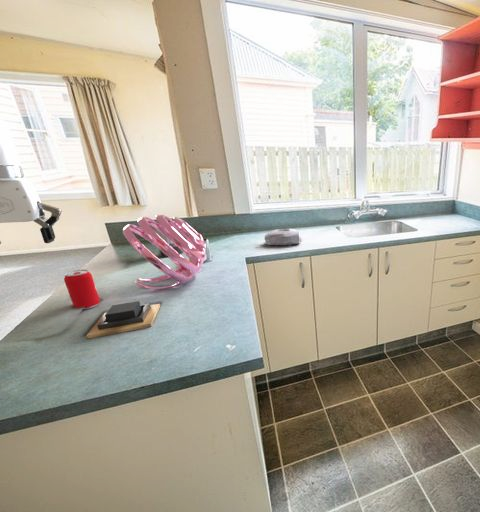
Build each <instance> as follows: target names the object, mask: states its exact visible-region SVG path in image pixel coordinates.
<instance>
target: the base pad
mask: <svg viewBox="0 0 480 512" xmlns="http://www.w3.org/2000/svg"><path fill="white" fill-rule="evenodd" d="M140 305H141V309H142V312H141V314H140V316H139V317H134V318H129V319H123V320H117V321H112V322H107V320H106V317H105V314H106V313H107V312H108V311H106V312H104V313H103V314H102V315H101V317H99V319H98V321H96V323H95V324H94V325H93V327H92V328H91V329H90V331H89V332H88V333H87V334H86V338H87V339H88V340H89V339H95V338H100V337H104V336H110V335H114V334H120V333H126V332H130V331H131V332H132V331H134V330H142V329H145V328H152V326H153V324H154V322H155V319H156V317H157V316H158V313H159V311H160V308H161V303H155V304H150V303H143V304H140Z"/></svg>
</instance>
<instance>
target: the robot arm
mask: <svg viewBox="0 0 480 512" xmlns="http://www.w3.org/2000/svg"><path fill="white" fill-rule="evenodd" d="M45 212H49V213H50V216H49V218H47V217H46V213H45ZM62 212H63V210H62V209H61V208H59V207H56V206H53V205H50V204H46V203H43V202H42V201H41V199H40V196H39V195H38V192H37V190H36V189H35V186H34V185H33V184H32V182H31V180H30V179H28V178H26V177H25V174H24V172H23V167H22V165H21V162H20V159H19V156H18V153H17V149H16V147H15V144H14V140H13V137H12V134H11V131H10V127H9V126H8V124H7V122H5V121H4V120H3V119H1V118H0V224H6V223H8V224H9V223H28V222H34V223H36V224H38V226H40V228H39V231H40V234H41V237H42V239H43V240H42V241H43V242H44V244H51V243H53V242H54V241H55V239H56V234H55V231H54V228H53V227H54V225H55V224H56V223H57V222H58V221H59V220H60V217H61V214H62ZM1 244H2V241H0V245H1Z"/></svg>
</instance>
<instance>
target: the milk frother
mask: <svg viewBox="0 0 480 512" xmlns="http://www.w3.org/2000/svg"><path fill="white" fill-rule="evenodd" d="M174 229H175V228H174ZM153 230H154V231H155V232H156V233H157V234H158V235H159V236H160V237H161V238H162V239H163V240H164V241H165V242H166V243H167V244H168V245H170V246H171V247H172V248H173V249H174V250H175V251H176V252H178V253H179V254H180V255H181V254H182V253H183V252H182V251H181V250H180V249H179V248H178V247H177V246H176V245H175V244H174V243H173V242H172V241H170V240H169V239H168V238H167V237H166V236H164V235H163V234H162V233H160V232H159V231H158V230H156V229H155V228H154V227H153ZM175 230H176V229H175ZM176 231H177V230H176ZM177 232H178V231H177ZM182 237H183V238H184V239H185V240H187V239H186V238H185V237H184V236H183V235H182ZM187 241H188V240H187ZM188 242H189V241H188ZM189 243H190V242H189ZM190 244H191V243H190ZM159 253H160V257H163V256H164V257H165V258H167V256H166V255H165V254H164V253H163V252H162V251H161V250H159ZM164 257H163V258H164Z"/></svg>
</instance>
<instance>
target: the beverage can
mask: <svg viewBox="0 0 480 512" xmlns="http://www.w3.org/2000/svg"><path fill="white" fill-rule="evenodd" d="M63 281H64V283H65V287H66V289H67V292H68V294H69V298H70V300H71V303H72V306H73V308H78V309H79V308H80V309H81V308H82V309H81V310H82V311H83V310H89V309H93V308H95V307H97V306H98V305H99V304H100V303H101V299H100V296H99V293H98V290H97V287H96V284H95V281H94V277H93V274H92V273H91V272H90V271H89V270H88V269H76V270H72V271H68V272H66V273H64V279H63Z"/></svg>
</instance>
